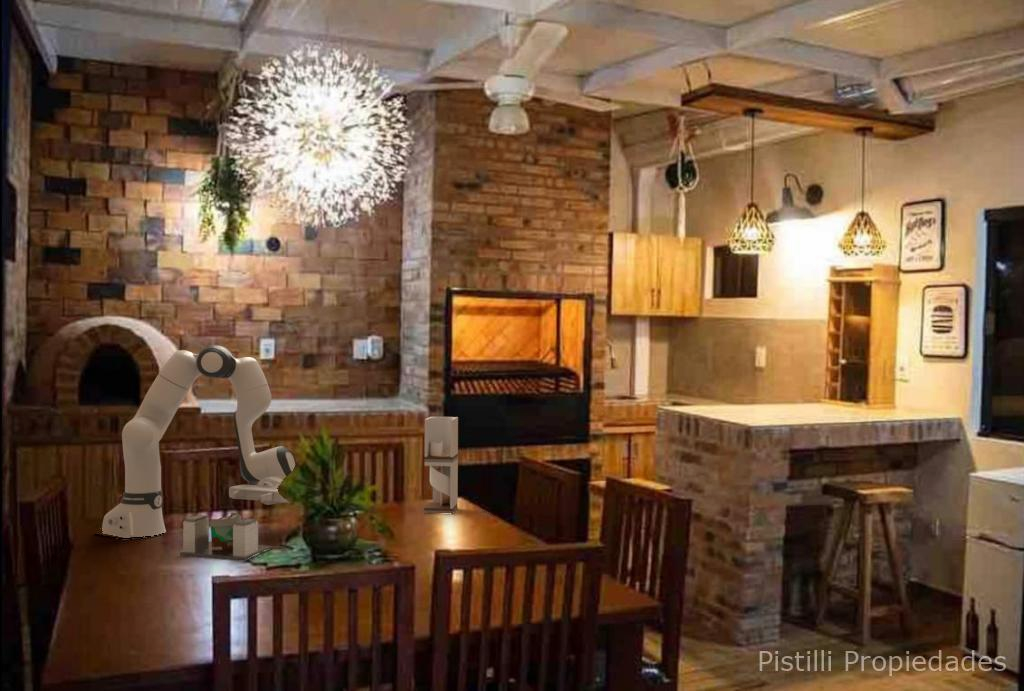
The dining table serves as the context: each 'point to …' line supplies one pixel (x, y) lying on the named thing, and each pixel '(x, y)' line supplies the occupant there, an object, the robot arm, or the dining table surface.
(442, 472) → the white tiered stand
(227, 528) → the food container
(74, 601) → the dining table surface
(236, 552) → the rail
